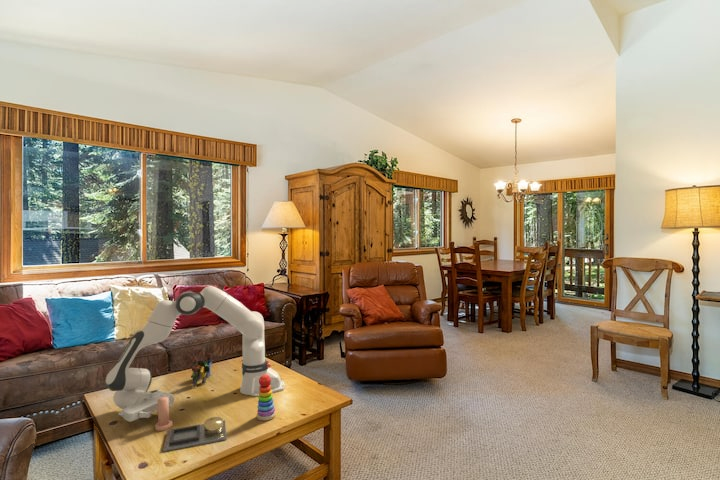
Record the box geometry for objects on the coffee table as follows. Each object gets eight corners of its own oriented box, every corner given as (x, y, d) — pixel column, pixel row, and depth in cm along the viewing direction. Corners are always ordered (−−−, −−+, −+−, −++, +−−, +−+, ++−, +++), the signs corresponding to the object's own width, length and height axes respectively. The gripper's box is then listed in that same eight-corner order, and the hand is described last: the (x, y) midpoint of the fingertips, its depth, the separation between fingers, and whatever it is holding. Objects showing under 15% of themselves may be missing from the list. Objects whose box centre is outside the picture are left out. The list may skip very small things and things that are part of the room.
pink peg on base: (173, 422, 165) (172, 394, 165) (171, 429, 159) (170, 400, 159) (156, 425, 163) (155, 397, 163) (154, 432, 157) (153, 403, 157)
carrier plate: (225, 423, 164) (224, 411, 164) (226, 439, 151) (225, 427, 151) (167, 433, 156) (167, 421, 156) (163, 451, 143) (163, 438, 143)
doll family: (198, 374, 220) (197, 351, 220) (214, 372, 222) (214, 349, 222) (190, 390, 198) (189, 364, 197) (208, 388, 200) (208, 363, 200)
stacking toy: (258, 413, 173) (257, 371, 172) (276, 412, 173) (275, 370, 173) (255, 421, 165) (254, 378, 164) (274, 420, 165) (273, 377, 165)
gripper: (115, 406, 160) (135, 413, 153) (162, 388, 178) (181, 394, 171) (116, 421, 160) (136, 429, 153) (162, 401, 178) (181, 408, 171)
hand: (160, 410), depth 162 cm, fingers open, 8 cm apart
